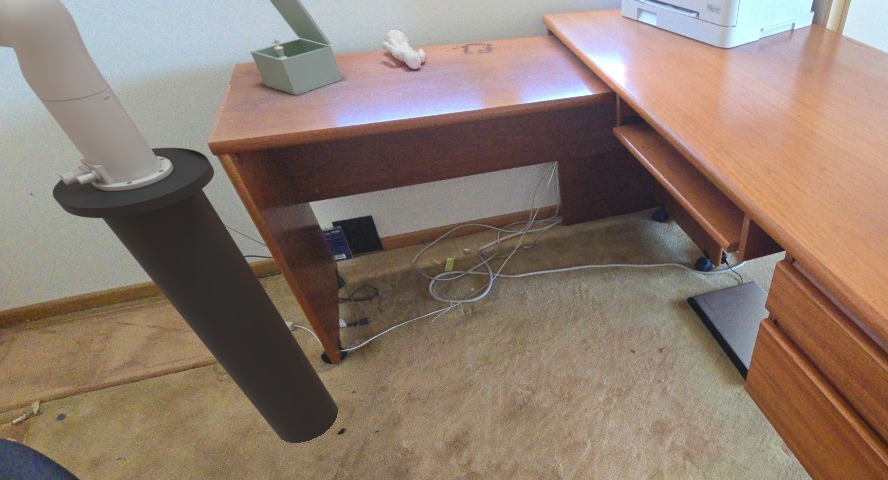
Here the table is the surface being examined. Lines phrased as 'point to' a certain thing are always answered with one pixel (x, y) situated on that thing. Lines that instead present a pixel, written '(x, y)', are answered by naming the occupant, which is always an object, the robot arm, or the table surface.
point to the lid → (300, 20)
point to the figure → (402, 49)
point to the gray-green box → (297, 66)
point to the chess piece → (279, 49)
